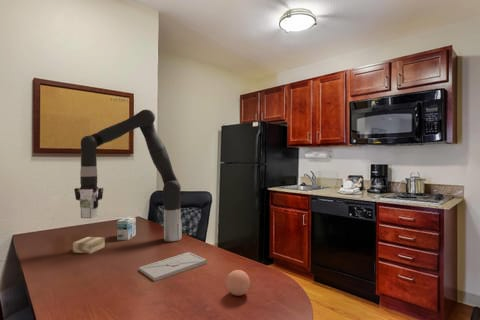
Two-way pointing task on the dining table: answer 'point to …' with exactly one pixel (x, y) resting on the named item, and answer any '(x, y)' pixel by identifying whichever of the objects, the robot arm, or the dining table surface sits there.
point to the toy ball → (238, 282)
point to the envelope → (172, 266)
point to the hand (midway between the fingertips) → (89, 208)
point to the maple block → (88, 245)
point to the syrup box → (88, 204)
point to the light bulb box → (126, 228)
